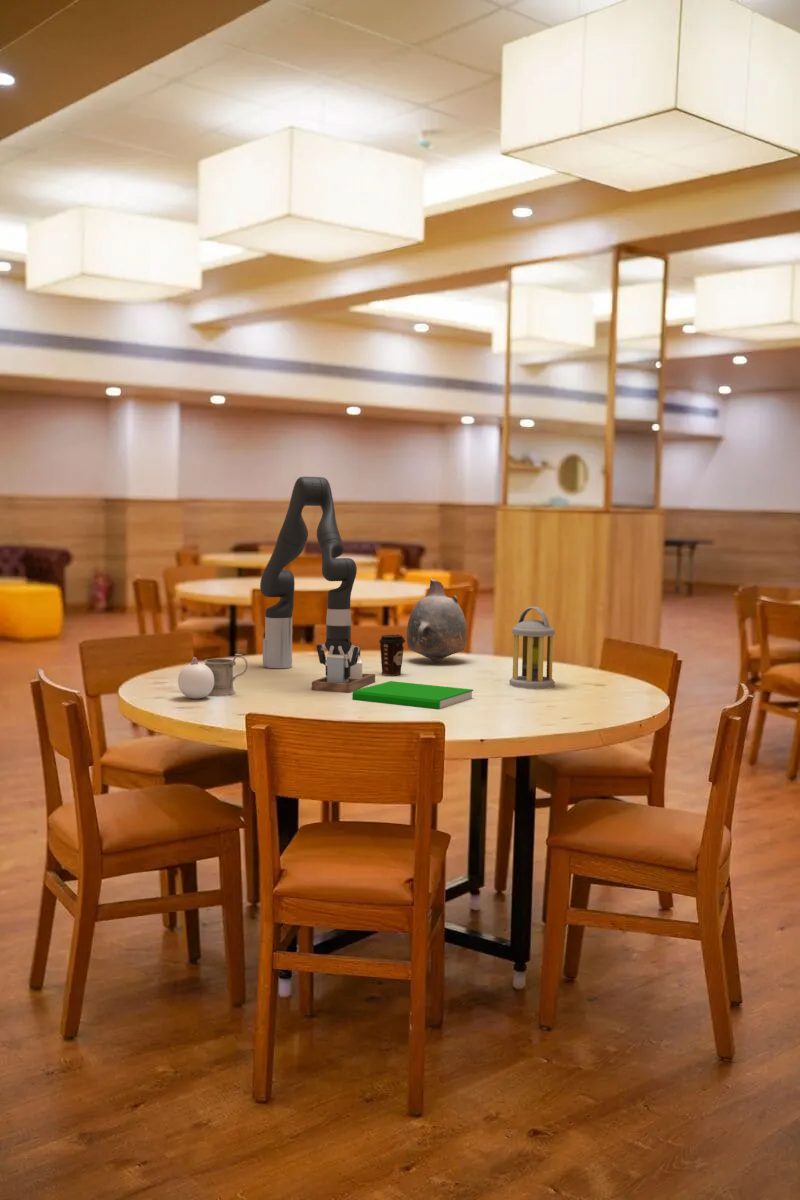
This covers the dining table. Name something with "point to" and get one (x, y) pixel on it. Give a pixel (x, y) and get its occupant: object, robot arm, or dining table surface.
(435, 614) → the jug
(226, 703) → the dining table surface
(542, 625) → the lantern
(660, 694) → the dining table surface
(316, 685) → the brown flat rectangular frame
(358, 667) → the medicine bottle
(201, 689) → the ornament
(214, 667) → the mug
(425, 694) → the book
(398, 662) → the coffee cup
